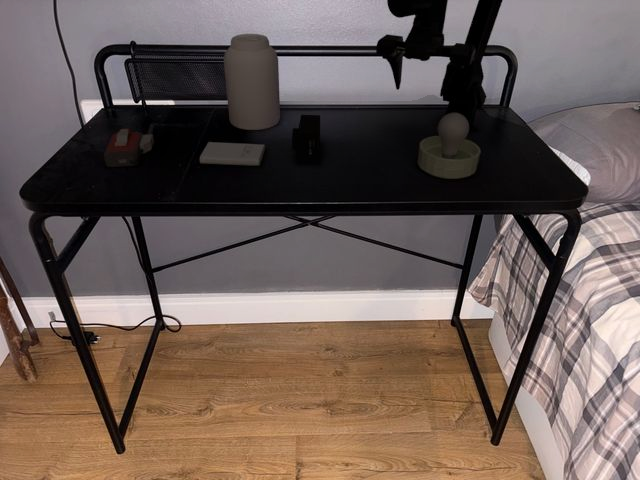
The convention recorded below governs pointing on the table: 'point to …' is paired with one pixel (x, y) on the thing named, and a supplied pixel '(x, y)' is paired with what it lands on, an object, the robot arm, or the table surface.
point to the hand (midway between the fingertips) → (419, 92)
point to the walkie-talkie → (128, 147)
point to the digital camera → (307, 139)
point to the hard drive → (232, 154)
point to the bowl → (448, 168)
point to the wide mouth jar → (252, 82)
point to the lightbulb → (452, 133)
